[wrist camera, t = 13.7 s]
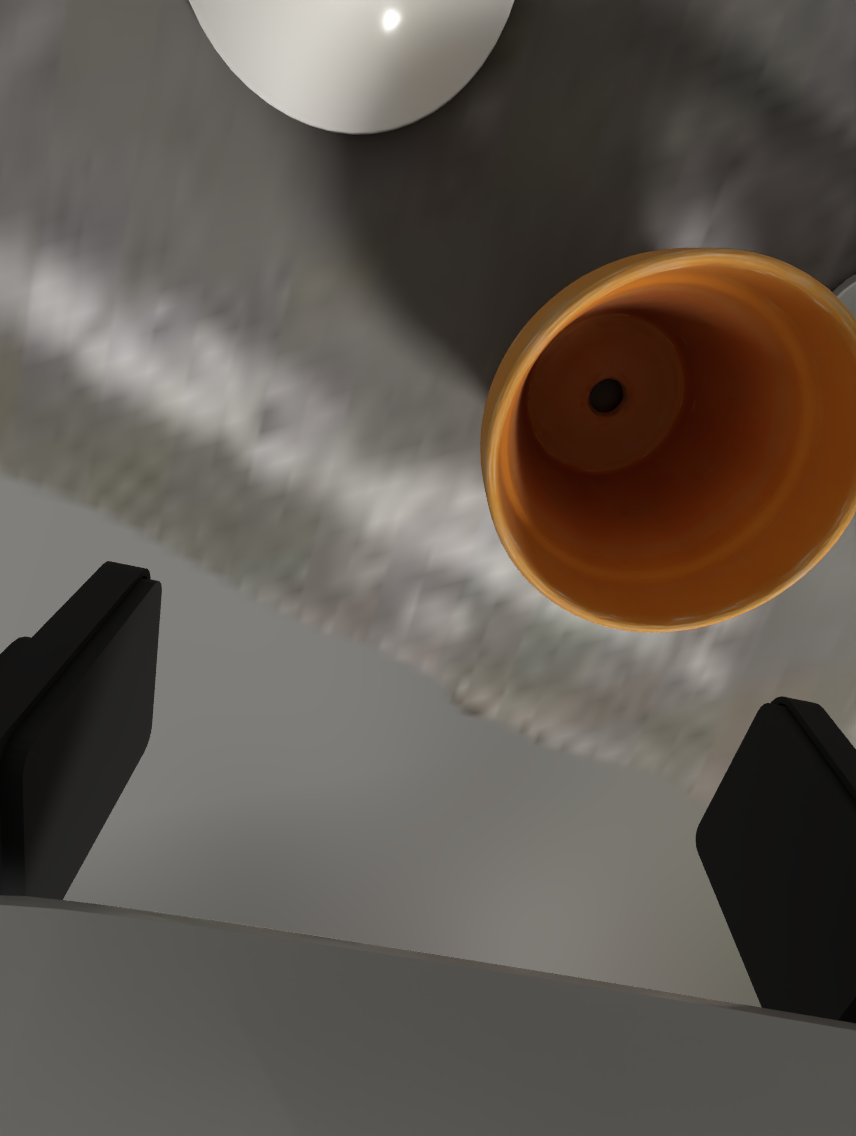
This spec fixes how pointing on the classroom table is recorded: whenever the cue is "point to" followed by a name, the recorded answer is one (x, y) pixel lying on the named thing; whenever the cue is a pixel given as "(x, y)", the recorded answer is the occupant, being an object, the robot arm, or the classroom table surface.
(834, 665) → the classroom table surface
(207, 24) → the dish
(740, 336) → the flower pot
